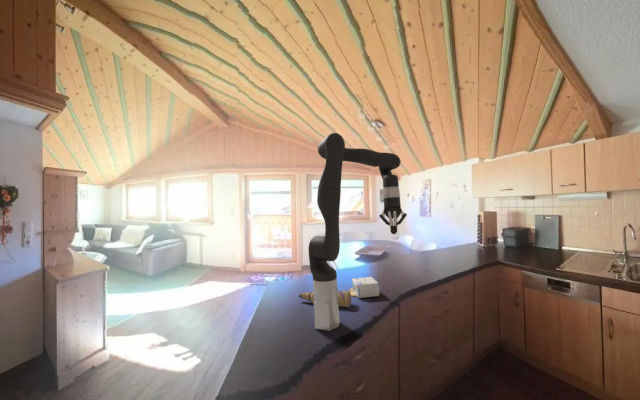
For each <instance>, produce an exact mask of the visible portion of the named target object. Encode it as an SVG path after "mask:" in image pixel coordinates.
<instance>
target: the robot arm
mask: <svg viewBox="0 0 640 400" xmlns="http://www.w3.org/2000/svg"><path fill="white" fill-rule="evenodd" d="M317 152H318V155H319V157H321V158H322V159H323V160H325V164H324V168H323V171H322V174H321V177H320V180H319V183H318V186H317V199H316V202H317V206H318V210H319V211H320V214H321V216H322V217H323V222H324V227H325V228H324V229H325V232H324V235H321V236H320V235H316V236H313V237H311V239H310V241H309V244H308V260H309V268H310V272H311V275H312V276H311V277H312V284H313V285H312V287H313V291H314V304H313V314H314V315H313V316H314V318H313V319H314V329H316V330H321V331H326V332H327V331H328V332H331V331H333V330H335V329H338V327H339V326H340V324H341V323H340V311H339V306H338V291H339V290H338V276H337V275H338V273H337V270H336V269H334V268H333V267H332V266H330V264H329V263H328V262H335V261H336V260H337V259H338V257H339V255H340V244H341V243H340V241H341V240H340V239H341V238H340V209H341V208H340V206H341V192H342V191H341V189H342V188H341V187H342V174H343V173H342V172H343V171H342V170H343V162H350V163H356V164H361V165H365V166H370V167H373V168H374V167H375V168H377V167H378V170H379V173H380V176H381V179H382V187H383V189H382V196H383V198H382V199H383V211H382V212H381V214H379V215H378V216H379V218H380V219H381V220H382V221H383V222H384V223H385V224H386V225H387V226H389V228H390V233H391V234H392V235H396V234H397V233H398V226H399V225H401V224H402V223H403V221H404V220H405V219H406V217H407V216H408V214H407V213H405V212H404V211H403V209H402V206H401V204H402V203H401V192H400V187H399V186H400V185H399V178H398V175H396V174H393V173H392V171H393V170H396V169H398V168H399V167H400V165H401V163H402V162H401V158H400V157H399V156H398V155H397V154H395V153H392V152H379V151H377V150H374V149H373V150H372V149H368V148H350V147H349V148H348V147H346V144H345V140H344V137H343V135H341V134H340V133H337V132H333V133H330V134H328V135H327V136H326V137H325V138H324V139H322V140H321V141H320V143H319V144H318V146H317ZM386 217H387V218H386ZM399 217H400V219H399V220H398V218H399ZM313 291H312V292H313Z"/></svg>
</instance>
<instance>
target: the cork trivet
mask: <svg viewBox="0 0 640 400" xmlns="http://www.w3.org/2000/svg"><path fill="white" fill-rule="evenodd" d="M348 291H350V293H351V298H358V297H357V296H356V294H355V293H354V292H353V287H350V289H349V290H348Z"/></svg>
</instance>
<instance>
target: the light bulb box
mask: <svg viewBox="0 0 640 400" xmlns="http://www.w3.org/2000/svg"><path fill="white" fill-rule="evenodd" d="M351 280H352V281H351V282H352V288H353V292H354V293H355V294H356V296H357V297H356V298H358V299H365V298H371V297H379V296H380V289H379V287H380V286H379V285H380V284H379V282H378V281H377V280H375V278H373V277H372V276H368V277H367V276H366V277H357V278H352V279H351Z"/></svg>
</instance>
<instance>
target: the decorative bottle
mask: <svg viewBox="0 0 640 400" xmlns="http://www.w3.org/2000/svg"><path fill="white" fill-rule="evenodd" d="M298 297H299V298H300V299H302V300H305V301H309V302H311V303H312V304H313V305H314V291H312V292H311V291H308V292H300V293H299V294H298ZM351 304H352V297H351V293H350V291H349V290H338V306H339V307H340V308H350V307H351Z"/></svg>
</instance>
